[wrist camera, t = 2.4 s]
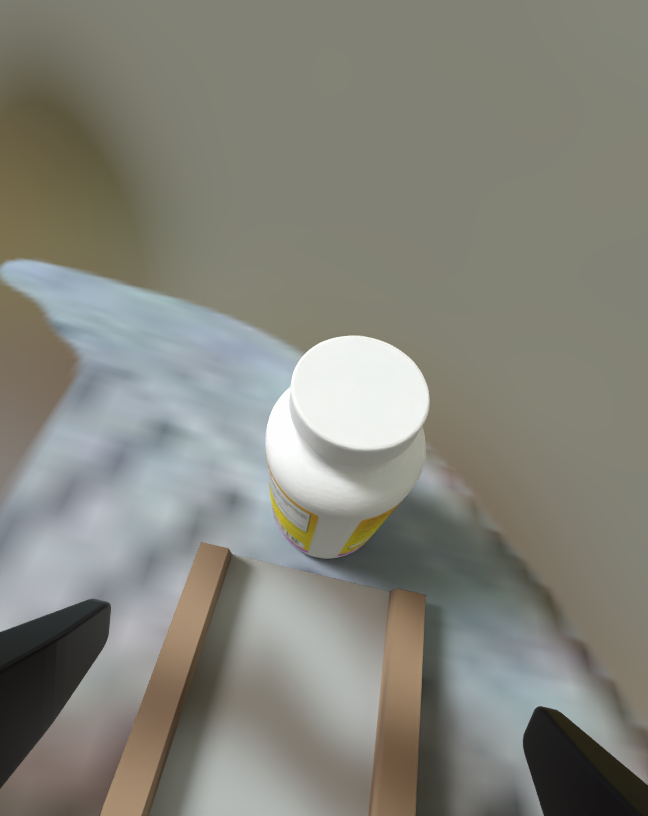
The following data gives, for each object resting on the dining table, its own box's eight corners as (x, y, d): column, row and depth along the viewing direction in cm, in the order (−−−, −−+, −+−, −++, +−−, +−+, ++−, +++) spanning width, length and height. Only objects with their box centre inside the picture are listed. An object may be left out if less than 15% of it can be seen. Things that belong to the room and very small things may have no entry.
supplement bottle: (381, 465, 25) (459, 333, 14) (373, 570, 21) (468, 503, 10) (284, 447, 25) (285, 300, 14) (259, 549, 21) (234, 459, 10)
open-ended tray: (382, 1102, 12) (398, 1176, 11) (43, 1010, 13) (6, 1068, 11) (413, 598, 21) (425, 595, 19) (207, 549, 21) (200, 542, 19)
